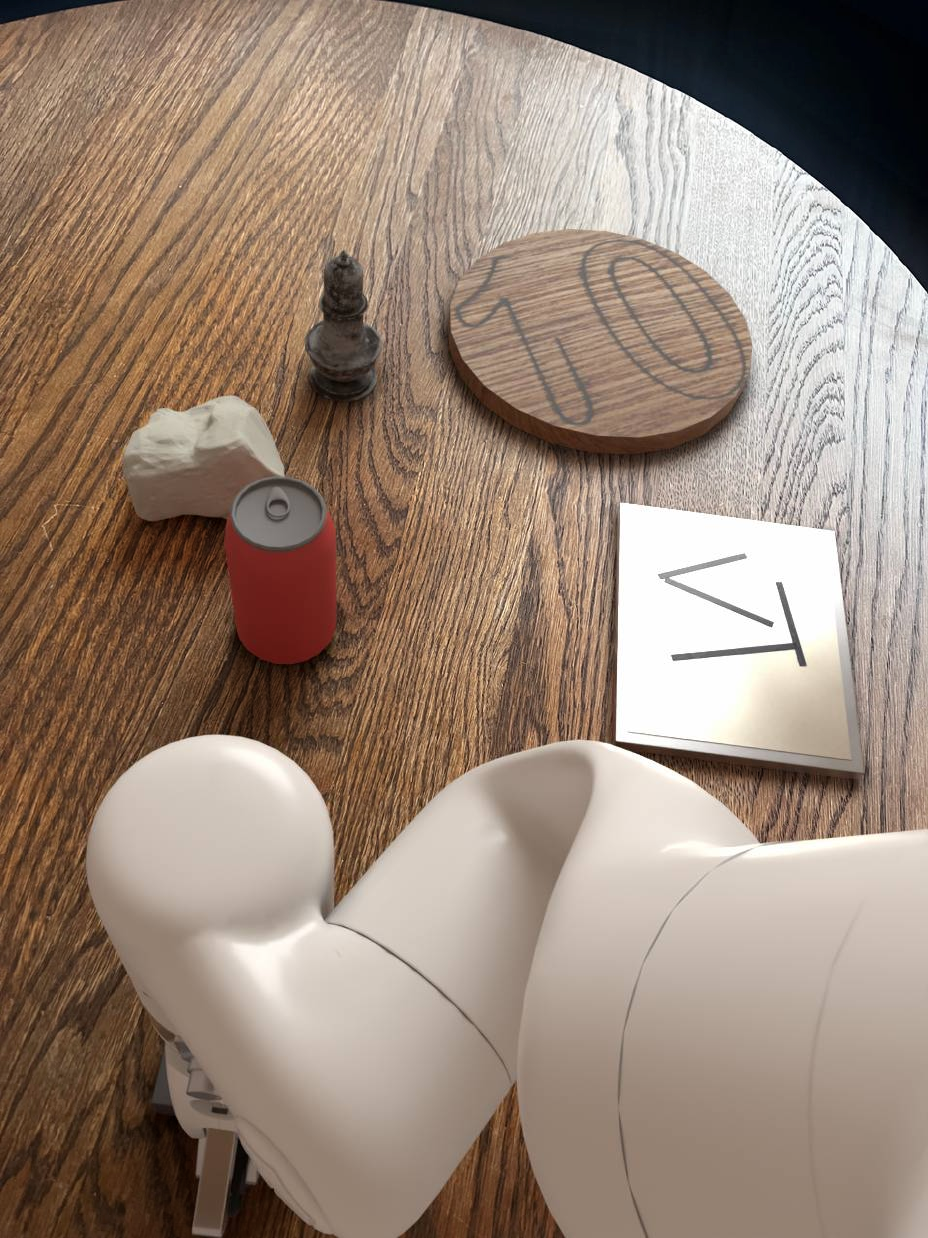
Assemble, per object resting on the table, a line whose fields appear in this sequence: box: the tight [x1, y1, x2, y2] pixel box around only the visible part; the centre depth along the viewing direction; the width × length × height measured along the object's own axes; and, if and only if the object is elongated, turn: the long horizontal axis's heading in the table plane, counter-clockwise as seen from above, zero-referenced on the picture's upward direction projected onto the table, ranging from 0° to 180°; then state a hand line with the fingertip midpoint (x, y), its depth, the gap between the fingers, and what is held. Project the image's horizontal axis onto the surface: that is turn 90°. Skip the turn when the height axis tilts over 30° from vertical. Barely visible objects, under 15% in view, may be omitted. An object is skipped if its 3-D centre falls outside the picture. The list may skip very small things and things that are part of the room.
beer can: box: [223, 476, 337, 665], centre depth 70 cm, size 7×7×12 cm
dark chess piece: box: [304, 250, 383, 403], centre depth 84 cm, size 6×6×12 cm
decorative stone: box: [121, 395, 286, 522], centre depth 79 cm, size 11×9×10 cm
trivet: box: [447, 228, 753, 455], centre depth 93 cm, size 25×25×2 cm
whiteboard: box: [612, 502, 865, 781], centre depth 78 cm, size 20×16×1 cm
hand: (258, 1062), depth 58 cm, fingers open, 9 cm apart
